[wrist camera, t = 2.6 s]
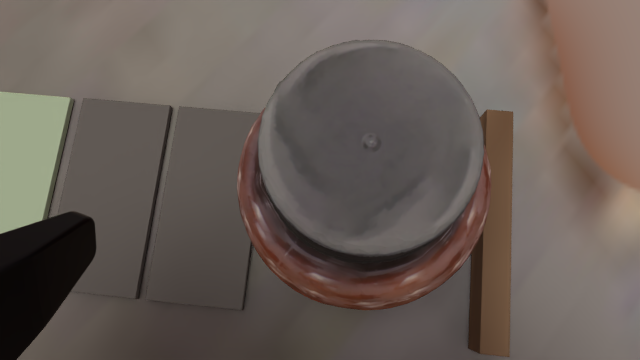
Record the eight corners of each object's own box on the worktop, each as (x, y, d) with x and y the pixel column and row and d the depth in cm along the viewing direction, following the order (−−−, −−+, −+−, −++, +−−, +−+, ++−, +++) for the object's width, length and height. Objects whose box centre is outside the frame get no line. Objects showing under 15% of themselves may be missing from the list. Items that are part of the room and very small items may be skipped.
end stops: (500, 124, 20) (513, 111, 18) (495, 350, 18) (509, 356, 16) (-137, 71, 21) (-171, 55, 20) (-204, 273, 20) (-248, 272, 18)
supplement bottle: (455, 205, 19) (614, 95, 8) (376, 333, 18) (436, 405, 7) (331, 128, 20) (325, -65, 9) (250, 246, 19) (131, 192, 8)
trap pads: (268, 116, 20) (267, 113, 20) (243, 309, 19) (241, 310, 18) (87, 100, 21) (83, 98, 20) (45, 288, 19) (40, 288, 19)
